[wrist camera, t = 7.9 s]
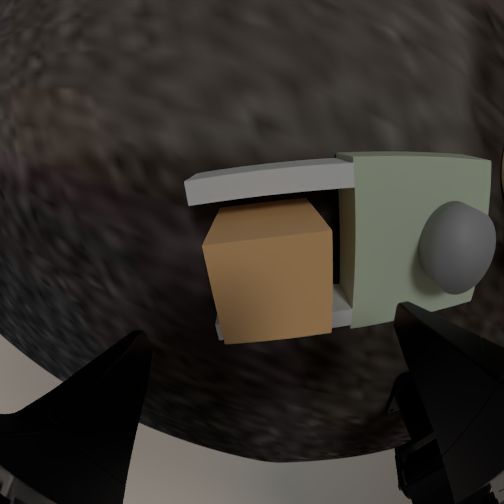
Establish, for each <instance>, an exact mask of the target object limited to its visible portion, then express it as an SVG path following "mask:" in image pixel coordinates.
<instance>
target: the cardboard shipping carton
mask: <svg viewBox="0 0 504 504" xmlns="http://www.w3.org/2000/svg"><path fill="white" fill-rule="evenodd" d="M202 247H203V252H204V257H205V262H206V266H207V271H208V275H209V280H210V284H211V288H212V293H213V297H214V301H215V306H216V310H217V314H218V318H219V322H220V326H221V330H222V334H223V338H224V342H225V344H236V343H249V342H260V341H270V340H279V339H288V338H296V337H304V336H311V335H318V334H325V333H331V331H332V302H333V243H332V230H331V228H330V227H329V226H328V224H327V223H326V222H325V221H324V219H323V218H322V217H321V216H320V214H319V213H318V212H317V211H316V209H315V208H314V207H313V206H312V205H311V203H310V202H309V201H308V200H307V198H297V199H287V200H278V201H269V202H261V203H253V204H245V205H237V206H230V207H222V208H220V209H219V211H218V214H217V216H216V218H215V220H214V222H213V224H212V226H211V228H210V230H209V232H208V234H207V236H206V238H205V241H204V243H203V245H202Z"/></svg>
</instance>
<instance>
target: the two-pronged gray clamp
mask: <svg viewBox="0 0 504 504" xmlns="http://www.w3.org/2000/svg"><path fill="white" fill-rule="evenodd" d="M184 184H185V189H186V195H187V200H188V205H189V206H192V205H198V204H205V203H212V202H219V201H226V200H234V199H242V198H250V197H258V196H266V195H275V194H285V193H294V192H305V191H316V190H328V189H338V193H339V219H340V284H334V285H333V302H332V328H336V327H342V326H348V325H349V326H350V328H351V329H352V328H358V327H363V326H369V325H374V324H379V323H384V322H389V321H393V320H394V317H395V312H396V307H397V304H398V303H400V302H405V301H409V302H411V303H413V304H415V305H417V306H420V307H422V308H424V309H426V310H428V311H430V312H432V311H436V310H440V309H443V308H447V307H451V306H454V305H458V304H461V303H465V302H468V301H471V298H472V295H473V291H474V287H475V285H476V284H477V283H478V282H479V281H480V280H481V279H482V277H483V276H484V275H485V273H486V271H487V270H488V268H489V266H490V264H491V261H492V258H493V255H494V251H495V245H496V233H495V228H494V225H493V222H492V220H491V219H490V217H489V216H488V210H489V200H490V185H491V161H490V160H486V159H481V158H477V157H473V156H468V155H462V154H449V153H431V152H344V153H336V158H327V159H312V160H300V161H288V162H278V163H269V164H260V165H252V166H244V167H236V168H229V169H222V170H216V171H209V172H203V173H197V174H195V175H194V176H192V177H191V178H189V179H187V180H186V181H184ZM215 326H216V330H217V334H218V337H219V340H224V338H223V334H222V330H221V326H220V322H219V318H218V314H217V318H216V323H215Z"/></svg>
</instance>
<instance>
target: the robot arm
mask: <svg viewBox="0 0 504 504" xmlns="http://www.w3.org/2000/svg"><path fill="white" fill-rule="evenodd" d="M394 328H395V331H396V334H397V337H398V340H399V343H400V346H401V349H402V352H403V355H404V358H405V361H406V364H407V366H408V368H409V371H410V372H409V373H405V374H402V375H401V376H399V378H398V380H397V383H396V386H395V389H394V391H393V394H392V397H391V399H390V402H389V404H388V407H387V412H388V413H392V412H395V411H399V410H400V413H401V415H402V418H403V420H404V423H405V425H406V428H407V430H408V433H409V436H410V438H411V440H410V441H408V442H407V443H405V444H403V445H402V446H398V447H396V448H395V460H396V468H397V475H398V488H399V490H401V491H403V493H404V494H405V496H406V497H407V498H408V499H411V500H412V503H413V504H504V347H501V346H499V345H497V344H495V343H493V342H491V341H489V340H487V339H485V338H483V337H480V336H479V335H477V334H475V333H473V332H471V331H469V330H467V329H465V328H463V327H461V326H459V325H457V324H455V323H453V322H451V321H449V320H446V319H444V318H442V317H440V316H438V315H436V314H434V313H432V312H430V311H428V310H426V309H424V308H422V307H420V306H417V305H415V304H413V303H411V302H409V301H405V302H400V303H398V304H397V307H396V312H395V317H394ZM151 359H152V347H151V345H150V342H149V340H148V338H147V335H146V333H145V332H144V331H142V330H135V331H132V332H131V333H129V334H128V335H127V336H125V337H124V338H123V339H121V340H120V341H118V342H117V343H116V344H114V345H113V346H112V347H110V348H109V349H108V350H106V351H105V352H103V353H102V354H101V355H99V356H98V357H97V358H95V359H94V360H93V361H91V362H90V363H88V364H87V365H86V366H84V367H83V368H82V369H80V370H79V371H78V372H76V373H75V374H73V375H72V376H71V377H69V378H68V380H65V381H64V382H63V383H61V384H60V385H59V386H57V387H56V388H54V389H53V390H51V391H50V392H48V393H47V394H45V395H44V396H42V397H41V398H39V399H37V400H36V401H34V402H33V403H31V404H29V405H28V406H26V407H25V408H23V409H21V410H20V411H18V412H15V413H12V414H0V504H123V499H124V493H125V486H126V485H125V484H126V480H127V474H128V469H129V464H130V459H131V454H132V450H133V445H134V440H135V435H136V431H137V427H138V423H139V418H140V414H141V410H142V406H143V402H144V398H145V394H146V390H147V385H148V379H149V372H150V365H151ZM491 487H492V489H493V491H492V492H491V493H490V490H491Z"/></svg>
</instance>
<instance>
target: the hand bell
mask: <svg viewBox="0 0 504 504" xmlns="http://www.w3.org/2000/svg"><path fill="white" fill-rule="evenodd" d="M501 179H502V188H503V193H504V153H503V158H502V171H501Z"/></svg>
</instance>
